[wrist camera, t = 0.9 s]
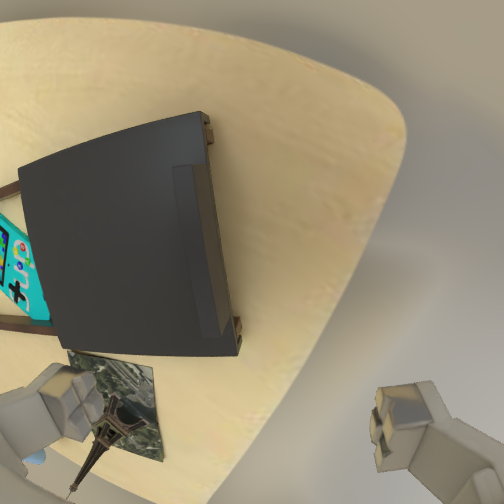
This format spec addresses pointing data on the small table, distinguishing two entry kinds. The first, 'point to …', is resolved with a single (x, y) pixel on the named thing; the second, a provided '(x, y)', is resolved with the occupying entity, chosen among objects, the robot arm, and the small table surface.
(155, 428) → the eiffel tower figurine
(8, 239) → the handheld gaming console
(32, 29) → the small table surface
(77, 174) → the lid
